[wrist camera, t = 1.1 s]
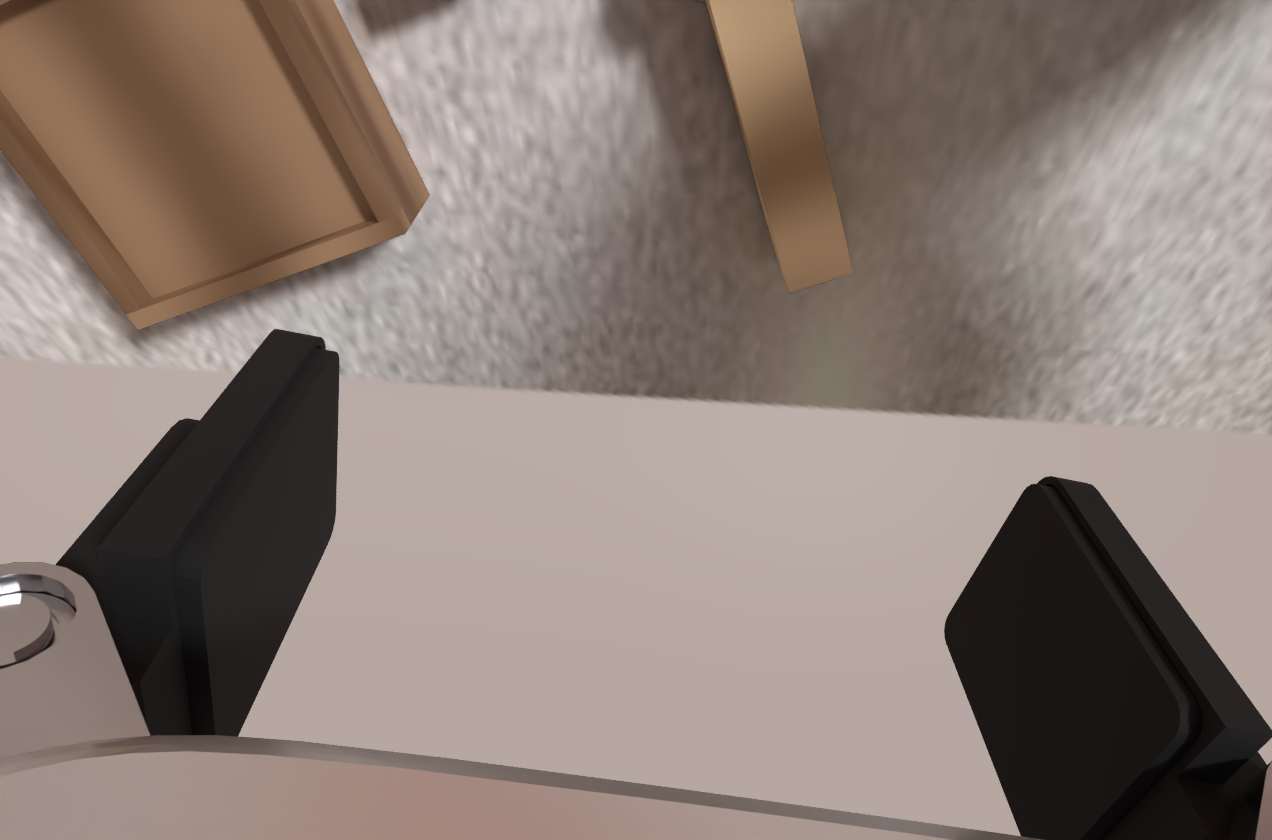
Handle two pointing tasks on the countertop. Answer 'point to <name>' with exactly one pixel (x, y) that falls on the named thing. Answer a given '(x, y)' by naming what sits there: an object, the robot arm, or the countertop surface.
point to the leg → (782, 137)
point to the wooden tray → (200, 142)
